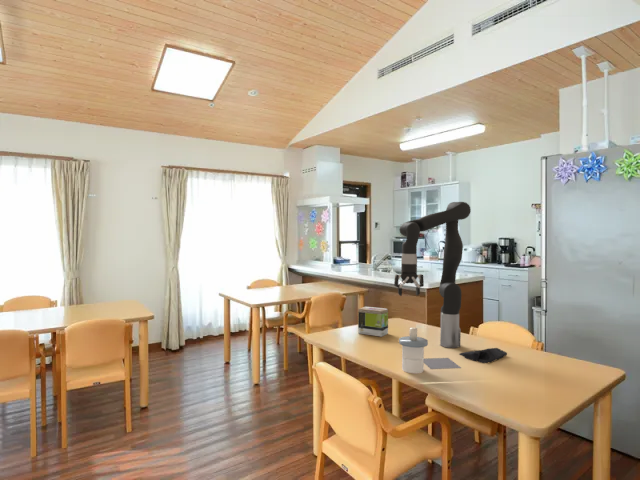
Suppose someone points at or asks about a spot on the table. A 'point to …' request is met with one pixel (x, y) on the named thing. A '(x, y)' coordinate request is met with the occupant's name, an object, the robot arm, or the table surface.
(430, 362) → the mat
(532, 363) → the table surface
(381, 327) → the tea box
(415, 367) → the white cylinder
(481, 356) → the dark slate chunk
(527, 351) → the table surface
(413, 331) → the lid
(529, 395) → the table surface
